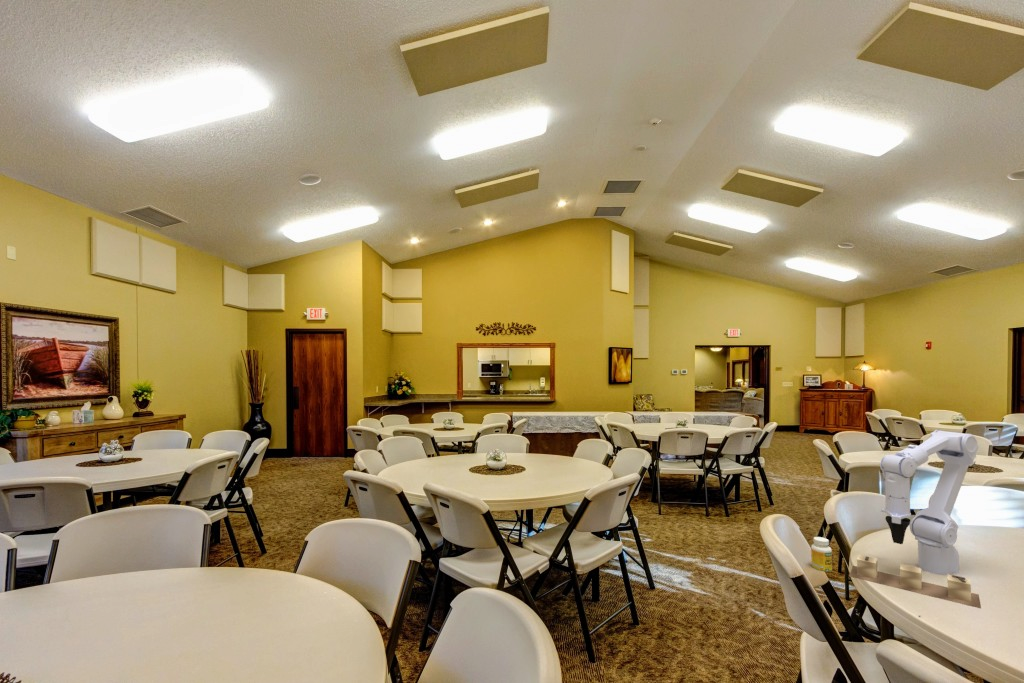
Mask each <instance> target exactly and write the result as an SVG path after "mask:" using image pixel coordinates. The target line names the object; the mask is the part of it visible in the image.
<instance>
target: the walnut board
mask: <svg viewBox="0 0 1024 683" xmlns="http://www.w3.org/2000/svg"><path fill="white" fill-rule="evenodd" d="M877 572H878V575H877V578H876V579H873V578H869V577H864V576H860V575H857V565H853V566H852V568H851V570H850V571H849V574H848V577H850V578H855V579H858V580H862V581H866V582H870V583H873V584H874V583H875V584H879V585H883V586H886V587H891V588H896V589H899V590H904V591H907V592H912V593H916V594H920V595H924V596H928V597H932V598H936V599H939V600H944V601H949V602H952V603H957V604H961V605H965V606H969V607H974V608H977V609H982V606H981V605H982V604H981V601H980V600H981V599H980V595H979V594H978V593H973V592H971V602H968V601H964V600H960V599H955V598H951V597H948V586H943V585H939V584H934V583H930V582H926V581H922V588H921V590H918V589H914V588H910V587H906V586H902V585H900V575H897V574H891V573H887V572H882V571H880V570H877Z"/></svg>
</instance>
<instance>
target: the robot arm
mask: <svg viewBox="0 0 1024 683" xmlns="http://www.w3.org/2000/svg"><path fill="white" fill-rule="evenodd" d="M978 444H979V443H978V441H977V438H976V437H975V436H974V434H972V433H962V432H954V431H947V430H945V431H944V430H940V429H935V430H934V431H932V432H930V433H929V438H927V439H926V440H924V441H923V442H921V444H919V445H917V444H909V445H907V446H906V447H905V448H904V449H902V450H898V451H897V452H896V453H894V454H886V455H884V456H883V457H882V458H881V460H880V463H879V467H880V470H881V472H882V477H883V479H885V480H884V482H885V489H884V490H885V491H884V492H885V495H884V496H885V508H884V507H881V508H880V512H883V513H885V514H887V516H885V521H886V524H887V525H888V527H889V530H890V534H891V538H892V542H893V543H894V544H899V545H903V544H904V541H905V535H906V530H907V529H908V527H909V530H910V532H911V534H912V536H914V539H915V540H917V555H918V556H917V560H918V564H917V565H918V568H921V571H925V572H927V573H930V574H934V575H942V576H945V575H946V576H947V574H949V575H952V574H960V555H959V552H958V549H957V548H956V546H954V545H955V543H956V542H957V540H958V528H959V525H958V524H957V522H956V521H955V520H954V519H953V518H952V517H951V514H952V512H953V509H954V506H955V503H956V501H957V498H958V496H959V493H960V490H961V488H962V485H963V482H964V480H965V476H966V474H967V471H968V469H969V466H970V465H972V464H973V463H974V461H975V458H976V455H977V453H978V449H979V445H978ZM933 454H935V455H937V457H938V458H939V459H940V460H942V461H943V462H944V465H943V468H942V471H941V473H940V476H939V478H938V481H937V484H936V486H935V488H934V492H933V495H932V497H931V498H930V502H929V505H928V506H927V508H924V509H920V510H918V511H917V512H916V514H915V516H914V517H913V518H912V519H910V518H911V516H912V513H911V494H910V493H911V485H910V484H911V482H910V481H911V480H910V479H911V478H910V477H913V475H915V471H916V470H917V469H918V467H920V466H922V465H924V464H925V463H927V462H928V461H929V456H932V455H933Z"/></svg>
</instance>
